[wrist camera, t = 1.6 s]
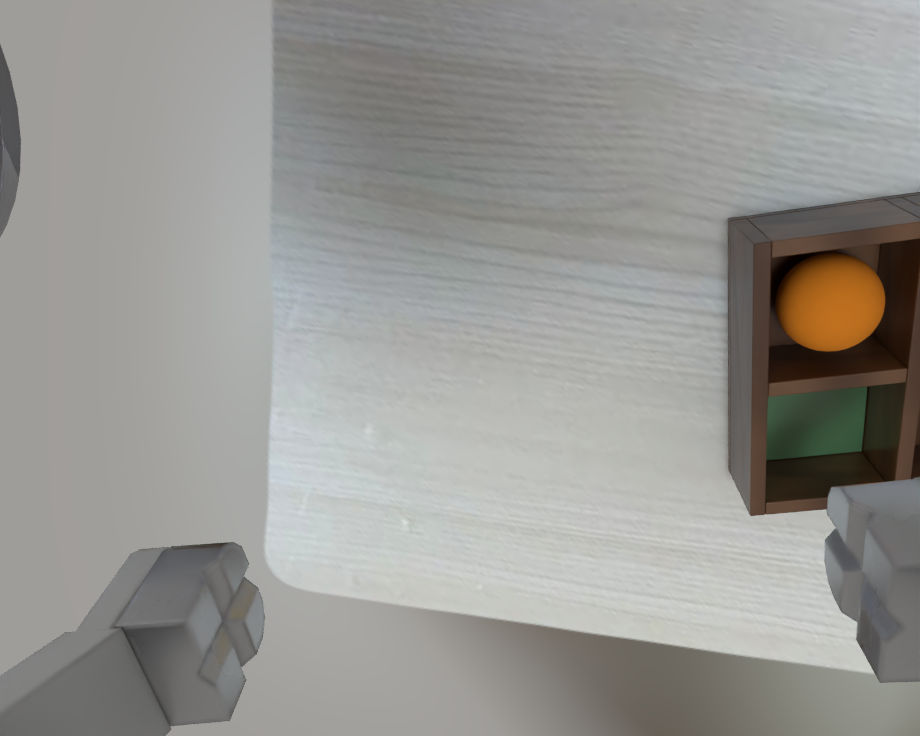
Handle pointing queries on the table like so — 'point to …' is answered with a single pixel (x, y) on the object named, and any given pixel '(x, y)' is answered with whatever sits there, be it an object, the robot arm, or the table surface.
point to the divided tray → (822, 359)
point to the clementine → (830, 302)
